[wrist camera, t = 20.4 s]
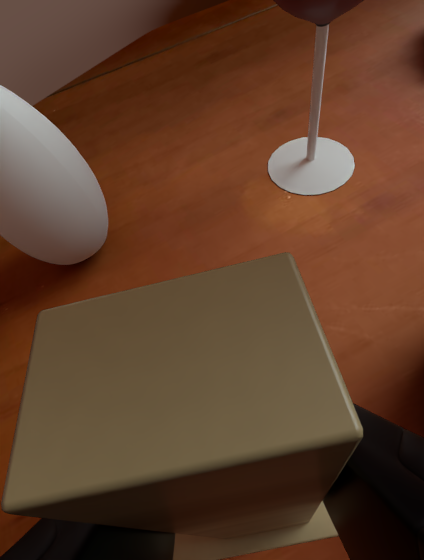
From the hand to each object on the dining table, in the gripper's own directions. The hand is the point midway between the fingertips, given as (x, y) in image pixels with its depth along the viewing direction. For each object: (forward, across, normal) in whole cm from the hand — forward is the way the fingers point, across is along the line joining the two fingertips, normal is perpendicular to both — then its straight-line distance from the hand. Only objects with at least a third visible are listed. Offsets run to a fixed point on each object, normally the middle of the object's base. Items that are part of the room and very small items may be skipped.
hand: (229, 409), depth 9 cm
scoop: (+6, 0, +4) cm, 7 cm away
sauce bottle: (+23, +11, -4) cm, 26 cm away
